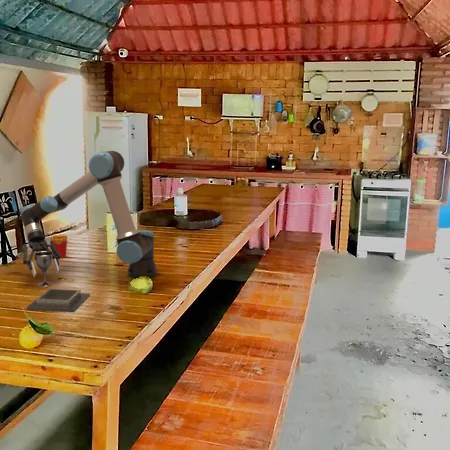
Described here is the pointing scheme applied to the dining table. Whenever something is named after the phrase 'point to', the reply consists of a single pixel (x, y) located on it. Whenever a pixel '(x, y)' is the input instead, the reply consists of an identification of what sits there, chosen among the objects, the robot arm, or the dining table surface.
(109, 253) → the dining table surface
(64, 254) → the french fries
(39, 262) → the wine glass
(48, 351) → the dining table surface
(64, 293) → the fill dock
